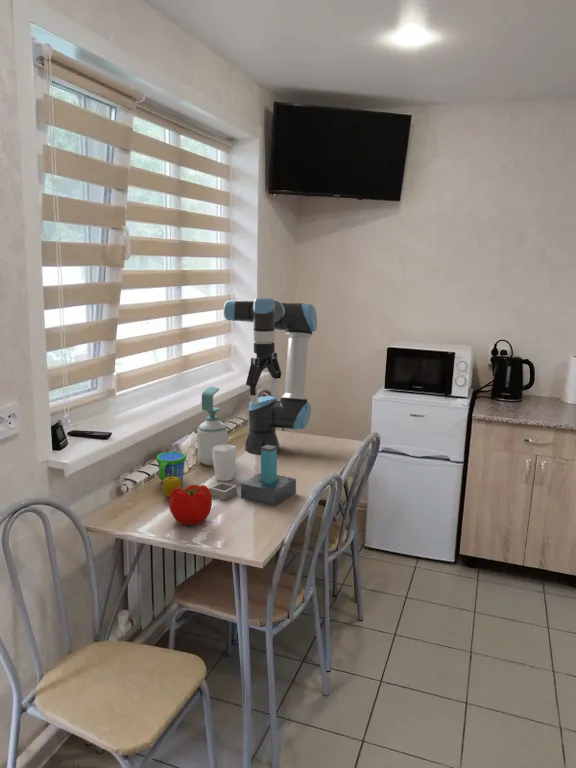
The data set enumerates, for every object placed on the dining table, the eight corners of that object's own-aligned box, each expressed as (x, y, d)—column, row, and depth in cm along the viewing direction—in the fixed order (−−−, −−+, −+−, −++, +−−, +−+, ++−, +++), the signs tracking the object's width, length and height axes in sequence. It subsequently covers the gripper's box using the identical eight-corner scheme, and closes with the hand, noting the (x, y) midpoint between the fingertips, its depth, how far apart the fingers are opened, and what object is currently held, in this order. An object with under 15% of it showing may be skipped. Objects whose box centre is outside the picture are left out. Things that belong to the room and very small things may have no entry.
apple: (159, 498, 211) (158, 476, 209) (169, 492, 217) (168, 471, 215) (175, 501, 208) (174, 479, 207) (184, 495, 214) (184, 473, 213)
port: (263, 485, 224) (263, 470, 222) (295, 493, 217) (295, 478, 215) (240, 498, 212) (240, 482, 211) (274, 506, 205) (274, 490, 204)
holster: (221, 489, 219) (221, 482, 219) (237, 493, 216) (236, 485, 215) (209, 496, 213) (209, 488, 213) (225, 500, 210) (225, 492, 209)
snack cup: (172, 491, 218) (171, 464, 216) (147, 486, 222) (146, 460, 220) (194, 477, 232) (194, 451, 230) (171, 473, 236) (170, 448, 234)
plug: (267, 490, 217) (267, 444, 213) (276, 492, 215) (276, 446, 211) (260, 493, 213) (260, 447, 210) (270, 496, 211) (270, 449, 208)
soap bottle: (233, 460, 252) (233, 387, 246) (217, 469, 241) (216, 392, 235) (209, 456, 257) (208, 384, 251) (191, 464, 246) (190, 389, 240)
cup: (232, 483, 226) (232, 452, 224) (209, 481, 228) (208, 450, 226) (239, 474, 235) (239, 445, 233) (216, 473, 237) (216, 443, 234)
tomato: (176, 533, 184) (175, 497, 181) (166, 516, 197) (164, 481, 194) (218, 526, 189) (217, 491, 187) (205, 509, 202) (205, 476, 199)
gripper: (273, 336, 229) (273, 391, 234) (235, 346, 208) (236, 405, 213) (290, 338, 225) (290, 393, 230) (253, 348, 204) (254, 408, 209)
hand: (264, 399), depth 222 cm, fingers open, 13 cm apart
